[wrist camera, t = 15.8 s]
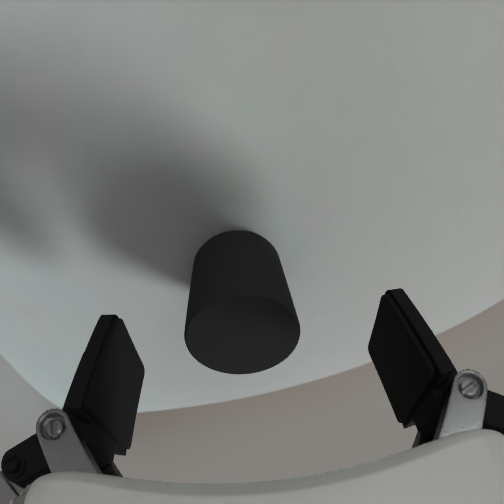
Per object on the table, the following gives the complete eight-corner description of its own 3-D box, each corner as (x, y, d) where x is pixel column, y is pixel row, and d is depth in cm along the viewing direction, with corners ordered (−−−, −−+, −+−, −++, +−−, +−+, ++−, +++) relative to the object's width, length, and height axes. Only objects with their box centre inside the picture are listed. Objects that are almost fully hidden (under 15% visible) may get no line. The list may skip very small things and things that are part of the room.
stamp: (200, 305, 15) (196, 378, 11) (186, 234, 13) (172, 301, 9) (280, 298, 15) (298, 368, 11) (279, 225, 13) (303, 288, 9)
